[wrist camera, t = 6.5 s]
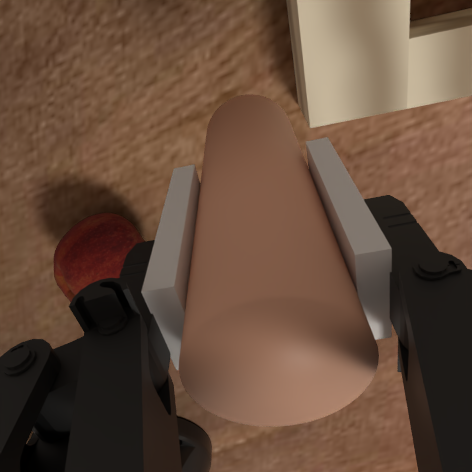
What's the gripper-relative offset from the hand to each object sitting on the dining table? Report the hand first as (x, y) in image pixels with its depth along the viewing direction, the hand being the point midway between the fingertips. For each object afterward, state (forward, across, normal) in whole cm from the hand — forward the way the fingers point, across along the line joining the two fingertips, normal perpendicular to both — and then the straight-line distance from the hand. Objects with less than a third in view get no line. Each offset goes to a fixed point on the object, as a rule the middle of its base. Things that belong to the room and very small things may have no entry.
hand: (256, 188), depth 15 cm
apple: (+17, -13, -10) cm, 24 cm away
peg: (+5, 0, 0) cm, 5 cm away
